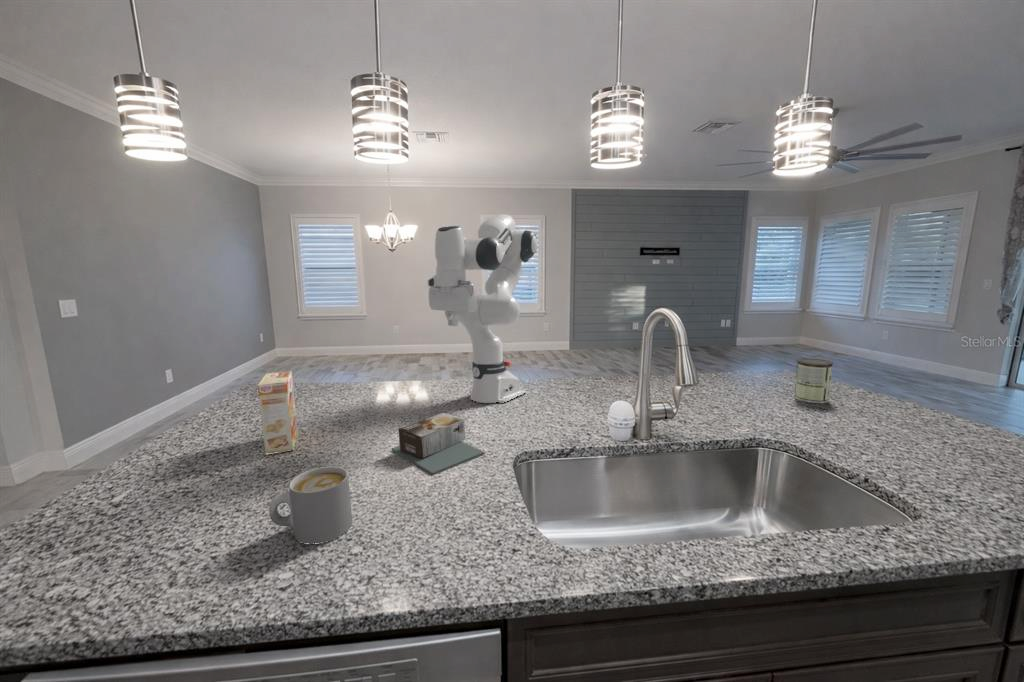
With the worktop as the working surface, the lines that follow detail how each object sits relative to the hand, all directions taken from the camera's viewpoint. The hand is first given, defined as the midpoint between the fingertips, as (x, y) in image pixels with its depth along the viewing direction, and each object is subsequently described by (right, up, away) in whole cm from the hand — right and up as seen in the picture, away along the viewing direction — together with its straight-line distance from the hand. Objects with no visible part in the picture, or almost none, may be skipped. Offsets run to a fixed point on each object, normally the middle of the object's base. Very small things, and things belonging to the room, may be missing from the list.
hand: (453, 325), depth 128 cm
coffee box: (+2, -29, -9) cm, 30 cm away
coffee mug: (-19, -40, -50) cm, 67 cm away
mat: (-2, -34, -18) cm, 39 cm away
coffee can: (+127, -26, +22) cm, 131 cm away
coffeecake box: (-47, -34, -10) cm, 59 cm away
